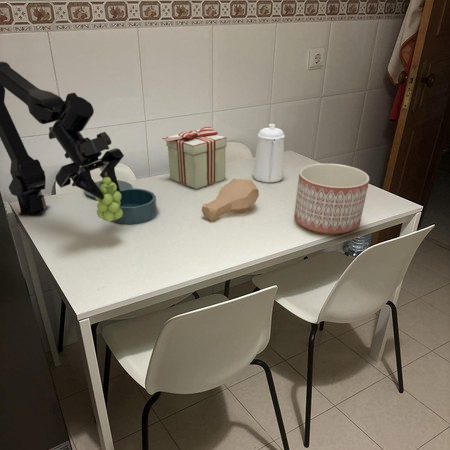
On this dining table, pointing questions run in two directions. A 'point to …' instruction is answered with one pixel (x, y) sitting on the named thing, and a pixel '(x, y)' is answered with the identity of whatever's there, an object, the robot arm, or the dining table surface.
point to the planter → (330, 198)
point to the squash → (232, 199)
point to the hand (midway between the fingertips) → (111, 195)
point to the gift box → (197, 157)
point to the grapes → (109, 200)
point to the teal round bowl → (137, 206)
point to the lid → (121, 184)
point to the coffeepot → (269, 155)
